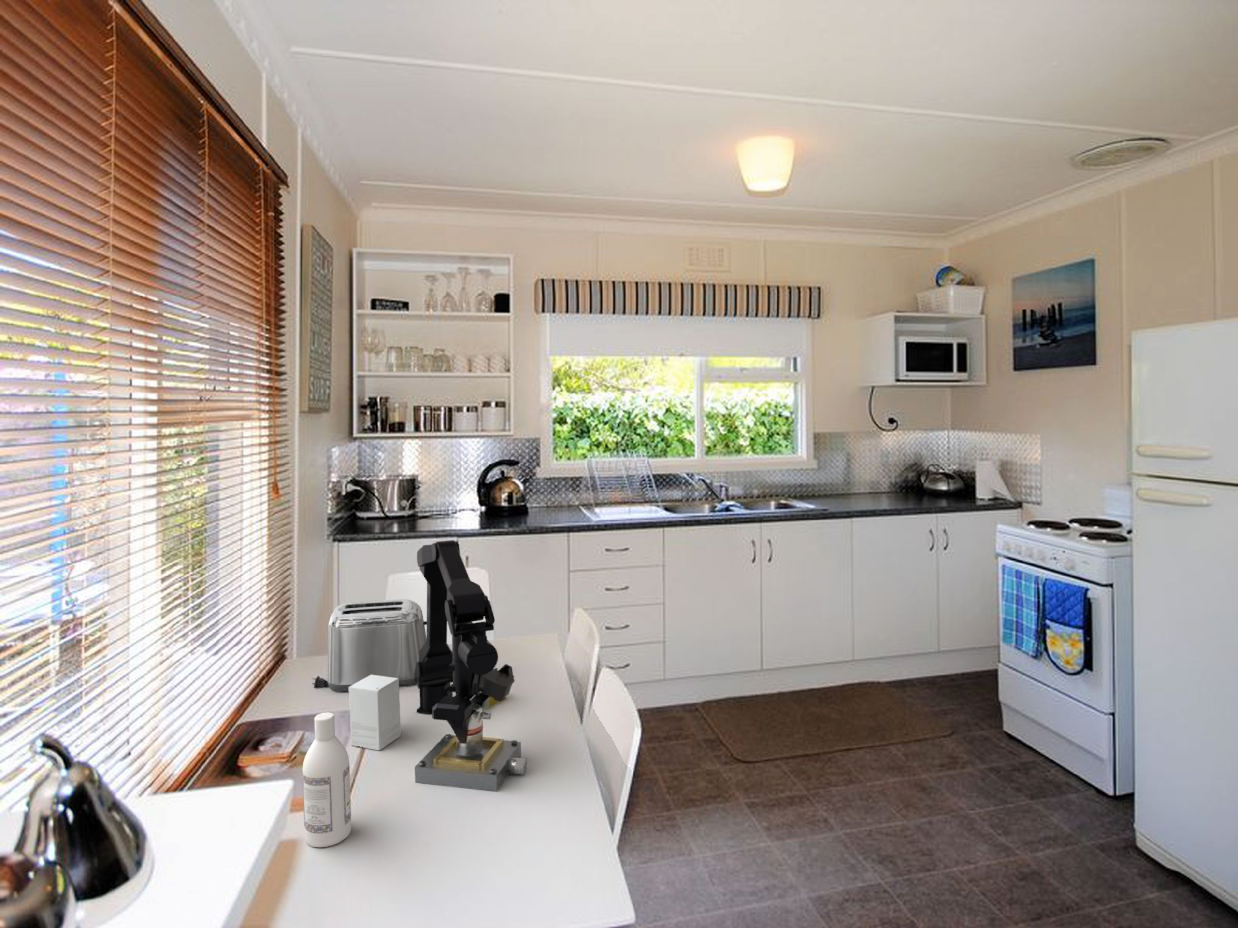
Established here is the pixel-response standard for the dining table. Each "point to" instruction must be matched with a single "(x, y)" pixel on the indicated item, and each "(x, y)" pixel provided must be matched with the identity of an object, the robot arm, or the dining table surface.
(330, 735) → the bath foam
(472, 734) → the spout can
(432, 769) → the grey fixture base
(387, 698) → the supplement box
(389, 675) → the toaster
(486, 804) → the dining table surface
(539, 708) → the dining table surface
